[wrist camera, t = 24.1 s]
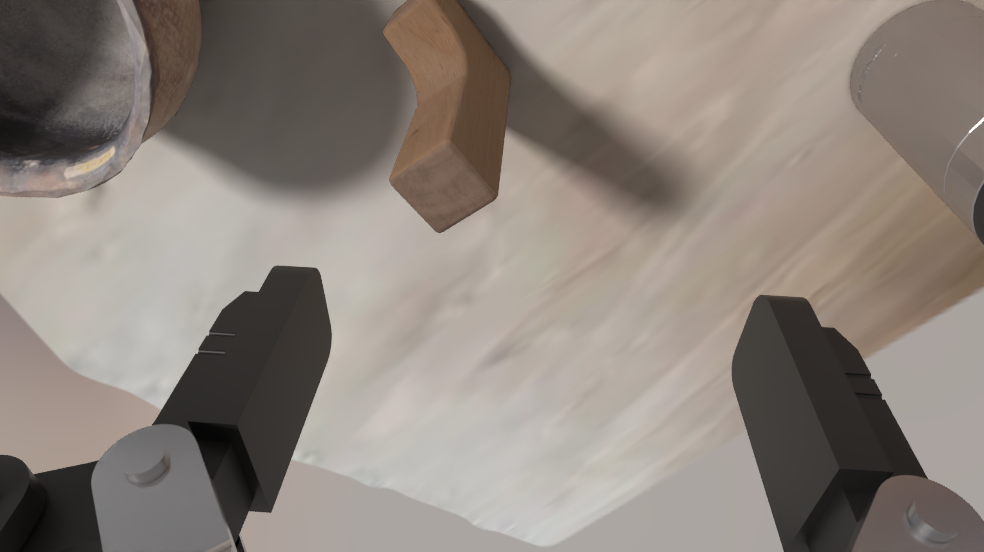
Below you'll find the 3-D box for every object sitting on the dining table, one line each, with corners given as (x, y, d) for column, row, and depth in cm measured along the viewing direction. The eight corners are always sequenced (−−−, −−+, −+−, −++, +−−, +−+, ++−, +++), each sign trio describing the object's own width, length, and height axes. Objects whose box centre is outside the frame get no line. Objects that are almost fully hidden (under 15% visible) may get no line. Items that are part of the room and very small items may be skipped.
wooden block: (392, 13, 45) (323, 119, 31) (438, -27, 43) (387, 67, 29) (468, 107, 49) (438, 238, 36) (513, 75, 48) (500, 199, 34)
